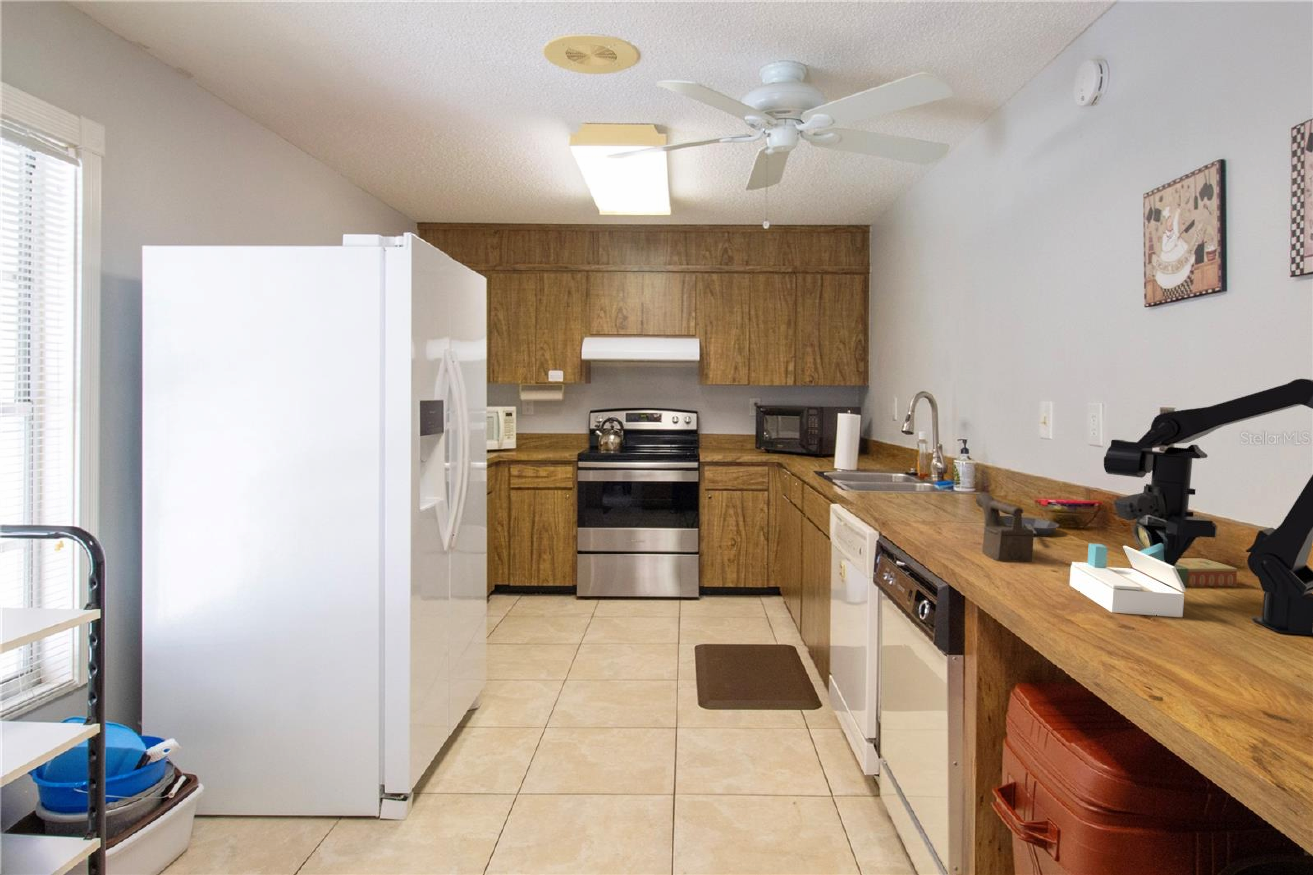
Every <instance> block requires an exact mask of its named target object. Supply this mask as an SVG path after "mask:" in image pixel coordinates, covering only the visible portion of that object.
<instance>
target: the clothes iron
mask: <svg viewBox="0 0 1313 875" xmlns="http://www.w3.org/2000/svg"><path fill="white" fill-rule="evenodd" d="M975 503H976V504H977V506H978V507H979V508H982V510H983V513H984V527H983V528H984V530H983V541H982V550H981V552H982V554H984V555H985V556H986V557H988V558H990V559H992V560H994V561H998V562H1033V553H1034V552H1033V551H1034V537H1035V536H1034V533H1033V530H1030V529H1022V517H1023V513H1024V510H1023V509H1022V508H1021V507H1018V506H1013V505H1012V504H1009V503H1006V502H1002V501H1000V500H998V499H995V498H994V497H993V496H992V495H991V494H990V493H989V492H987V491H982V492H980V493H978V494H977V495H976V497H975ZM1000 512H1001V513H1002V514H1006V515H1008V516H1014V518H1013V524H1012V527H1009V526H1007V525H1006V524H1005V523H1004V522H1003V521H1002V519H1001V516H1002V515H1001V514H1000Z"/></svg>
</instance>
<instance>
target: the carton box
mask: <svg viewBox="0 0 1313 875" xmlns="http://www.w3.org/2000/svg"><path fill="white" fill-rule="evenodd" d="M1106 568H1107V569H1109V570H1111V571H1113V572H1115V573H1116V574H1118V575H1120V576H1122V577H1124V578H1126V579H1128V580H1130V581H1132V582H1134V583H1136V584H1137V585H1139V586H1141V587H1143V588H1142V590H1133V589H1118V588H1112V587H1111V586H1109V585H1107V584H1105V583H1104V582H1102V581H1100V580H1098V579H1097V578H1095V577H1093V576H1091V575H1090V574H1088V573H1086V572H1084V571H1083V570H1081V569H1079V568H1077V567H1076V566H1074V565H1072V564H1070V572H1069V573H1070V574H1069V586H1070V587H1072V588H1074V589H1075V590H1077V591H1078V592H1079V591H1080V592H1079V593H1081V594H1083V595H1084V596H1086V597H1087V598H1088V599H1090V600H1092V601H1093V602H1095V603H1096V604H1098V605H1100V606H1101V607H1103V608H1104V609H1106V610H1107V611H1109V612H1110V613H1115V614H1116V613H1117V614H1129V615H1130V614H1131V615H1145V616H1156V615H1157V616H1158V617H1170V618H1171V617H1173V618H1174V617H1175V618H1183V616H1184V615H1183V614H1184V602H1185V594H1184V592H1182V591H1180V590H1178V589H1176V588H1174V587H1172V586H1167V585H1165V584H1163V583H1160V582H1158V581H1156V580H1154V579H1152V578H1150V577H1148V576H1146V575H1144V574H1142V573H1140V572H1138V571H1136V570H1134V569H1131V568H1129V567H1128V568H1125V567H1124V568H1123V567H1110V566H1109V567H1108V566H1106Z"/></svg>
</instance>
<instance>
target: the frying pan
mask: <svg viewBox="0 0 1313 875" xmlns="http://www.w3.org/2000/svg"><path fill="white" fill-rule="evenodd" d="M1000 516H1001V519H1002V521H1003V522H1004V523H1005V524H1006V525H1007V526H1009V527H1012V524H1013V518H1014V516H1012V515H1000ZM1059 526H1060V524H1059V523H1057V522H1054V521H1052V520H1046V519H1041V518H1036V517H1028V516H1022V529H1030V530H1033V533H1034V537H1045V536H1051V534H1053V533H1054V531H1055V530H1056V529H1057V528H1058V527H1059Z"/></svg>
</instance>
